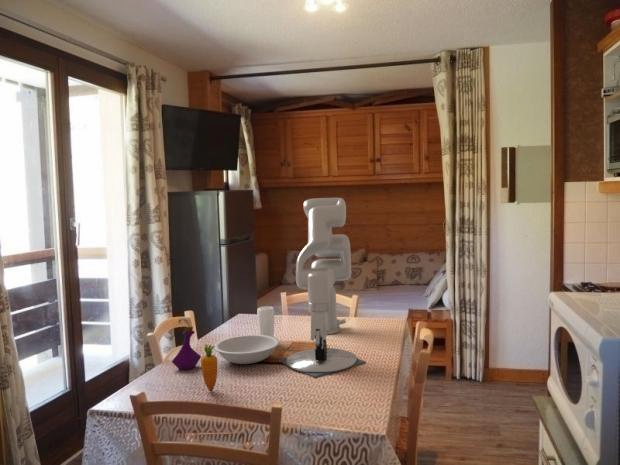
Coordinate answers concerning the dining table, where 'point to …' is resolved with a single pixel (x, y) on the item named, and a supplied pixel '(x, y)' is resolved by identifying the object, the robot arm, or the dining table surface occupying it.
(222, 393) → the dining table surface
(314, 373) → the mat
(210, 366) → the carrot
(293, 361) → the lid
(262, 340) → the soup bowl
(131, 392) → the dining table surface
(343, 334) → the dining table surface
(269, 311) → the drinking glass
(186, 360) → the perfume bottle
